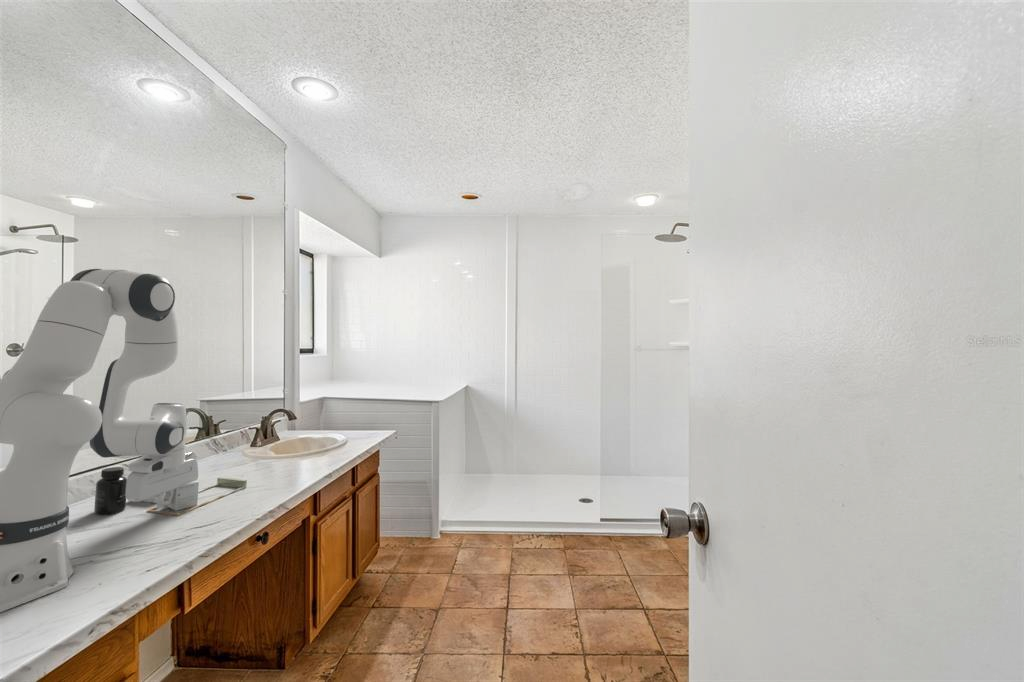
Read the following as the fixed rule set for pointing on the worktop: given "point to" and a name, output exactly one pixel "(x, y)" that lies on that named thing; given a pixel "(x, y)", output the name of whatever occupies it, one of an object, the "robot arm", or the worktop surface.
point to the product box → (185, 496)
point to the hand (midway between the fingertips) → (163, 506)
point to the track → (220, 481)
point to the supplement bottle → (110, 491)
